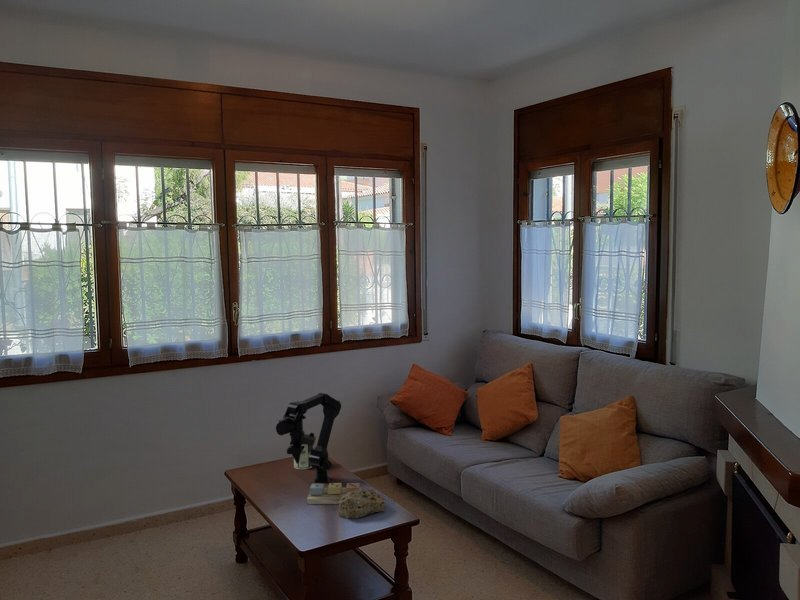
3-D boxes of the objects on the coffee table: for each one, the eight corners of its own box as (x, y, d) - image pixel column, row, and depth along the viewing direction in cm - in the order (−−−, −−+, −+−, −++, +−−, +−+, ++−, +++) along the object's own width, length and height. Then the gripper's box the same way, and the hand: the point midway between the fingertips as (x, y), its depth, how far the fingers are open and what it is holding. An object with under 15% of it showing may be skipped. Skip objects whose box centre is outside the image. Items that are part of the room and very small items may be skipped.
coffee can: (309, 461, 341) (308, 435, 339) (317, 467, 332) (316, 440, 331) (290, 465, 335) (289, 438, 334) (298, 471, 326) (297, 443, 325)
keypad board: (311, 493, 296) (311, 488, 296) (361, 492, 296) (361, 487, 296) (307, 504, 285) (307, 498, 284) (359, 503, 284) (359, 497, 284)
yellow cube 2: (329, 495, 293) (329, 482, 293) (341, 495, 293) (341, 482, 292) (328, 500, 288) (327, 487, 287) (340, 499, 287) (340, 487, 287)
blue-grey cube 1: (312, 495, 293) (311, 483, 293) (324, 495, 293) (323, 483, 293) (310, 500, 288) (309, 487, 287) (322, 500, 288) (322, 487, 287)
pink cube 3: (347, 495, 293) (347, 482, 292) (359, 495, 293) (359, 482, 292) (346, 500, 287) (345, 487, 287) (358, 500, 287) (358, 487, 287)
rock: (369, 502, 288) (374, 481, 286) (388, 520, 277) (392, 499, 275) (329, 509, 276) (334, 488, 273) (347, 528, 264) (351, 506, 262)
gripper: (311, 435, 289) (312, 469, 290) (317, 424, 307) (318, 456, 309) (286, 436, 289) (287, 470, 290) (293, 424, 307) (294, 456, 309)
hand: (297, 463), depth 299 cm, fingers closed
